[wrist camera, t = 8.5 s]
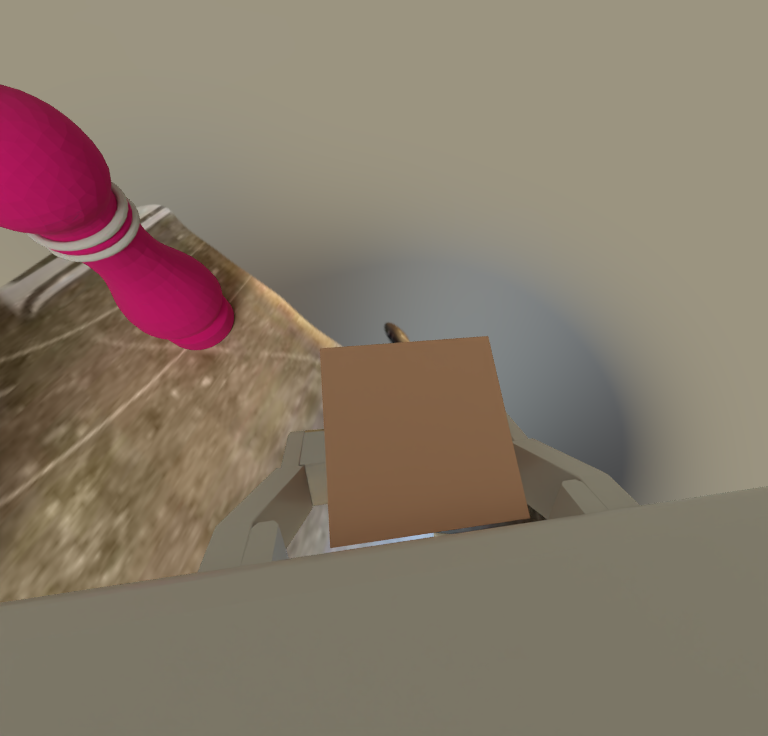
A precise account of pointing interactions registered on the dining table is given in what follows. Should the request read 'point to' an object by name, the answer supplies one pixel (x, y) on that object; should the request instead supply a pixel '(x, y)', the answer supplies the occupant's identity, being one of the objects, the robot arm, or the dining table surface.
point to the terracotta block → (416, 440)
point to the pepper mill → (100, 225)
